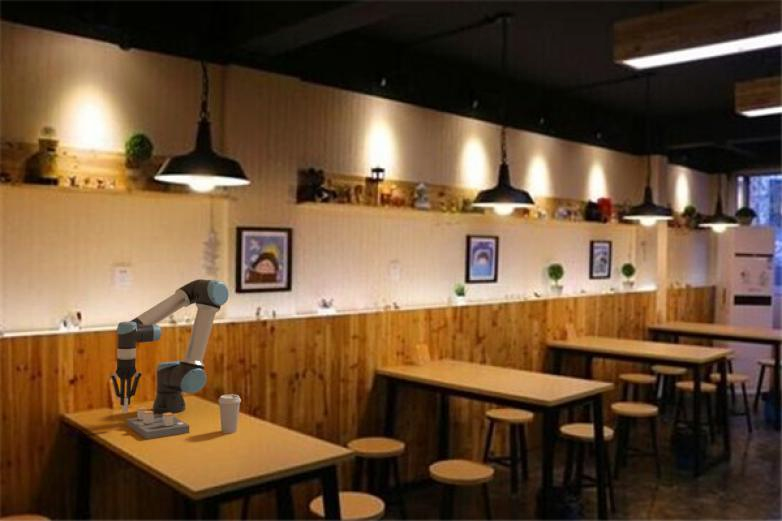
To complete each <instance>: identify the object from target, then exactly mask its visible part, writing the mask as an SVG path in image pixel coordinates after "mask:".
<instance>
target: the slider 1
mask: <svg viewBox="0 0 782 521" xmlns="http://www.w3.org/2000/svg"><path fill="white" fill-rule="evenodd" d="M143 411H148V408H147V407H146V406H140V407H137V408H136V417H137V418H138V419H139V420H143Z"/></svg>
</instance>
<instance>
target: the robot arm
mask: <svg viewBox="0 0 782 521" xmlns="http://www.w3.org/2000/svg"><path fill="white" fill-rule="evenodd" d="M229 295H230V294H229V289H228V287H227V285H226V284H225V283H224V282H223V281H220V280H215V279H203V278H200V279H195V280H192V281H190V282H189V283H186V284H184V285H183V286H181V287H179V288H178V289H176V290H175V292H174V293H173V294H172V295H170V296H169V297H167V298H166V299H163V300H162V301H161V302H159V303H157V304H156V305H154V306H153V307H151V308H149V309H148V310H146V311H144V312H143V313H141V314H140V315H137V316H136V317H135V318H133V319H131V320H129V321H121V322H119V323H118V324H117V327H116V333H117V334H116V337H117V338H116V339H117V342H116V343H117V344H116V345H117V346H116V349H117V351H116V370H115V372H114V373H113V374H110V375H109V377H110V379H111V380H112V385H113V389H114V393H115V397H117V398H120V399H119V401H120V402H119V404H120V405H121V406H122V408H121V411H122V413H123V414H128V413H129V405H131V398H132V397H133V396H136V393H137V388H138V385H139V381H140V378H141V377H142V373H141V372H138V371H137V369H136V362H137V361H136V356H137V344H139V343H153V342H157V341H159V340H160V339H161V337H162V328H161V326H160V325H158V323H160V322H162V321H164V320H165V319H166V318H168V317H169V316H171V315H173V314H174V313H176V312H177V311H179V310H181V309H182V308H187V307H189V306H190V305H193V304H195V306H196V308H197V311H196V314H195V318H194V322H193V326H192V328H191V333H190V336H189V339H188V342H187V347H186V350H185V354H184V358H181V359H180V360H176V361H175V360H173V361H165V362H160V363H158V364H156V365H157V366H156V371H155V372H156V395H155V398H154V401H153V404H152V412H154V413H157V414H163V413H172V414H174V413H180V412H184V411H185V410H186V402H185V398H184V396H183V393H186V394H196V393H198V392H200V391H201V390H203V388H204V387H205V385H206V383H207V375H206V372H205V370H204V369H205V364H204V363H203V361H204V357H205V354H206V350H207V346H208V343H209V338H210V335H211V332H212V328H213V326H214V325H213V324H214V321H215V317H216V314H217V313H218V312H220V311H221V307H222V306H223V305H225V303H227V301H228V300H229ZM117 378H119V381H120V382H119V384H120V386H119V385H118V380H117ZM133 378H134V379H133ZM132 379H133V383H132ZM125 395H126V396H125Z"/></svg>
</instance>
